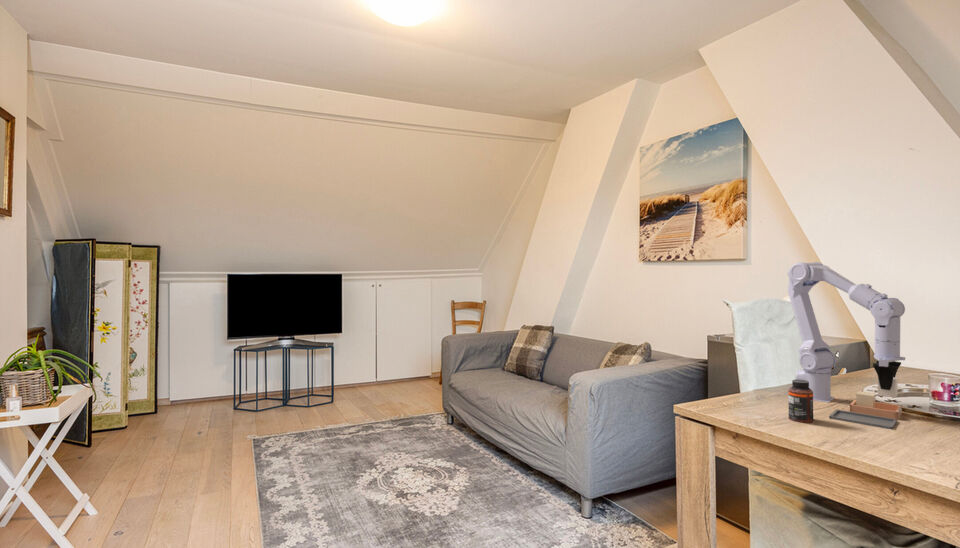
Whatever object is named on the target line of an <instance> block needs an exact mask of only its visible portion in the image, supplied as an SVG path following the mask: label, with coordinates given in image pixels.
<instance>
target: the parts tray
mask: <svg viewBox="0 0 960 548" xmlns="http://www.w3.org/2000/svg"><path fill="white" fill-rule="evenodd" d="M828 419H829V420H830V419H831V420H835V421H842V422H846V423H853V424H860V425H864V426H870V427H877V428H881V429H886V430H893V429H894V428H895V426H896V424H897V422H898V420H897V419H892V418H886V417H880V416H873V415H867V414H861V413H855V412H850V410H848V411H847V410H842V409H835V410H834V411H833V412H832V413H830V415H829V416H828Z"/></svg>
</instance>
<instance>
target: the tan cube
mask: <svg viewBox="0 0 960 548" xmlns="http://www.w3.org/2000/svg"><path fill="white" fill-rule="evenodd" d="M855 399H856V405H857V406H864V407H870V408H875V402H876V393H874V392H867V391H862V390H860V391H859V390H858V391H857V392H856V393H855Z"/></svg>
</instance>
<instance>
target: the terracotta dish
mask: <svg viewBox="0 0 960 548" xmlns="http://www.w3.org/2000/svg"><path fill="white" fill-rule="evenodd" d="M849 412H855V413H861V414H867V415H873V416H880V417H886V418H892V419H897V421H899V419H900V417H901V415H902V414H903V405H900V404H894V403H887V402H880V401H875V408H870V407H864V406H857V405H856V398H855V399H853V401H852V402H851V403H850V404H849Z"/></svg>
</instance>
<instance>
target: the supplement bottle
mask: <svg viewBox="0 0 960 548" xmlns="http://www.w3.org/2000/svg"><path fill="white" fill-rule="evenodd" d="M791 385H792V386H790V387H789V388H788V397H787V398H788V420H790V421H793V422H796V423H802V424H812V423H813V422H814V400H813V391H812V390H811V389H810V388H809V382H808V381H806V380H800V379H796V380H795V379H792V383H791Z"/></svg>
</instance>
